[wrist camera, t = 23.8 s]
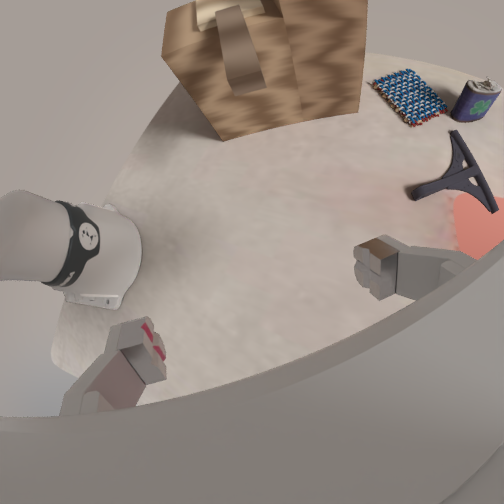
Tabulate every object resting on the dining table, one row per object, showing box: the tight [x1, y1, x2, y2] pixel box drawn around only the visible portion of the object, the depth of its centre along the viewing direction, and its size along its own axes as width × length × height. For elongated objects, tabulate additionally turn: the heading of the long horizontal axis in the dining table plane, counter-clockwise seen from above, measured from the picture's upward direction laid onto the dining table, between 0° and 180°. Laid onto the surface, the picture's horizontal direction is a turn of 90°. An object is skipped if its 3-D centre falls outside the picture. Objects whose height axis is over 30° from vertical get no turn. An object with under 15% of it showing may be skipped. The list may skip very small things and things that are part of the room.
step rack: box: [161, 0, 368, 142], centre depth 27 cm, size 22×12×26 cm, turn 99°
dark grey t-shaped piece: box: [411, 130, 499, 214], centre depth 31 cm, size 14×15×3 cm
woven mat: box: [373, 69, 448, 127], centre depth 34 cm, size 10×11×2 cm
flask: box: [451, 76, 502, 123], centre depth 26 cm, size 9×3×11 cm, turn 105°
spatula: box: [196, 0, 267, 96], centre depth 19 cm, size 21×7×2 cm, turn 10°
